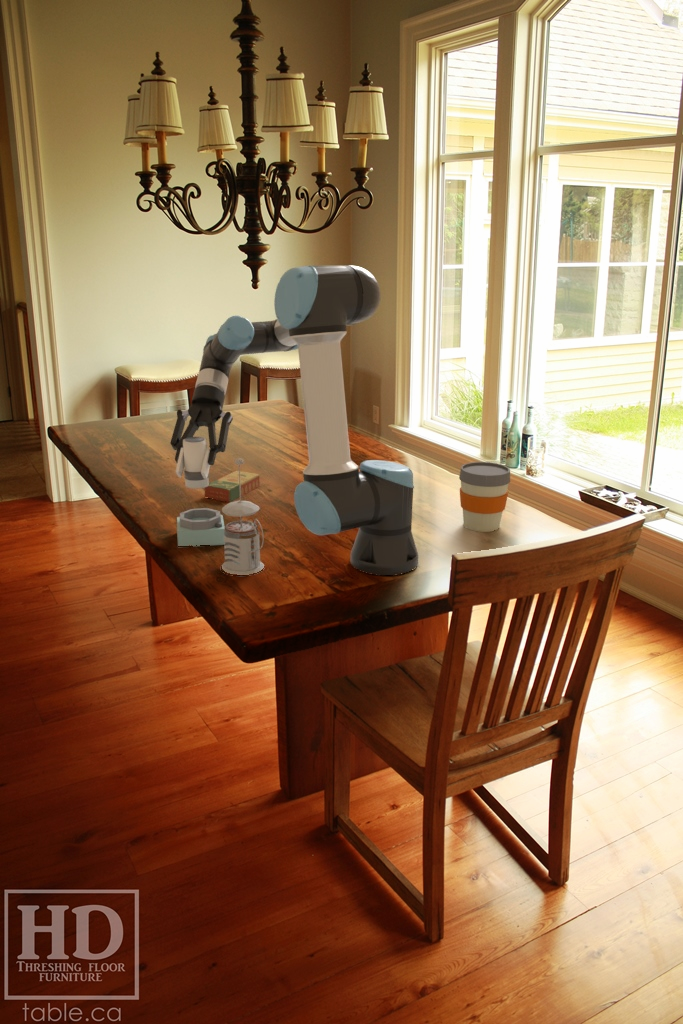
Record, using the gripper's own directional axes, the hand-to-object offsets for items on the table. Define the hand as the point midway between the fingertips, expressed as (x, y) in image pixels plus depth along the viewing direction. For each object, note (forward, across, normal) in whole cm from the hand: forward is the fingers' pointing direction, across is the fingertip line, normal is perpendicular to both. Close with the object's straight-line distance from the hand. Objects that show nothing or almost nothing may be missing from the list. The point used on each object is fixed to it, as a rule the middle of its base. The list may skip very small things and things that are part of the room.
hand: (191, 475), depth 195 cm
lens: (0, 0, -5) cm, 5 cm away
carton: (-15, +2, -39) cm, 42 cm away
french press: (+21, -16, -3) cm, 27 cm away
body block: (+10, -1, -13) cm, 17 cm away
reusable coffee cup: (-5, -67, -30) cm, 74 cm away
